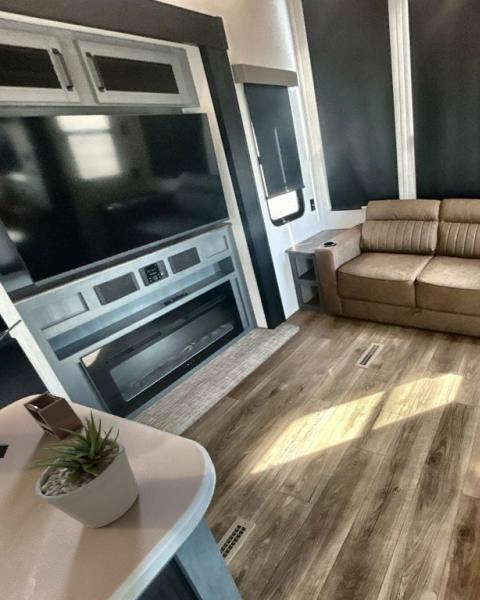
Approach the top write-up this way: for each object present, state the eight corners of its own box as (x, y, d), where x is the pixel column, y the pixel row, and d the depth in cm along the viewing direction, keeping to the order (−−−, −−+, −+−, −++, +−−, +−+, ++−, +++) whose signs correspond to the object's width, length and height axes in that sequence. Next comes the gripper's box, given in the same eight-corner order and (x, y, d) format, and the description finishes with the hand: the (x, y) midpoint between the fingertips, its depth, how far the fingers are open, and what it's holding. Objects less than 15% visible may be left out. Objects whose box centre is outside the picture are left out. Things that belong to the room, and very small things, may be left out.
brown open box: (44, 431, 89) (22, 404, 85) (67, 417, 93) (47, 390, 89) (61, 440, 86) (39, 412, 82) (84, 425, 90) (64, 397, 86)
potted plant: (113, 547, 62) (46, 470, 52) (54, 533, 65) (-18, 459, 56) (169, 481, 72) (122, 407, 63) (116, 471, 76) (64, 400, 66)
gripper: (-214, 479, 60) (-19, 461, 81) (-186, 500, 55) (13, 476, 77) (-188, 431, 62) (-4, 427, 83) (-160, 448, 57) (28, 439, 78)
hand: (4, 450), depth 80 cm, fingers closed
